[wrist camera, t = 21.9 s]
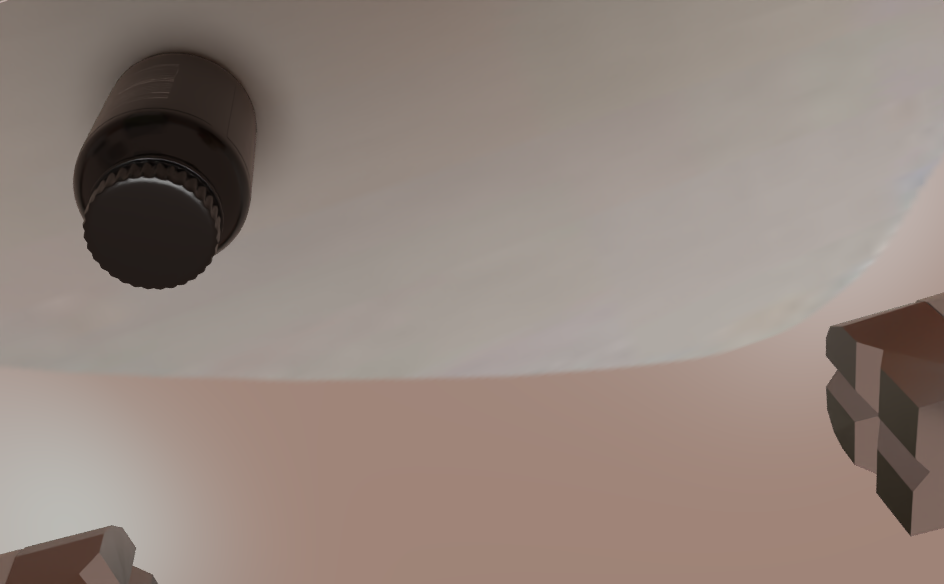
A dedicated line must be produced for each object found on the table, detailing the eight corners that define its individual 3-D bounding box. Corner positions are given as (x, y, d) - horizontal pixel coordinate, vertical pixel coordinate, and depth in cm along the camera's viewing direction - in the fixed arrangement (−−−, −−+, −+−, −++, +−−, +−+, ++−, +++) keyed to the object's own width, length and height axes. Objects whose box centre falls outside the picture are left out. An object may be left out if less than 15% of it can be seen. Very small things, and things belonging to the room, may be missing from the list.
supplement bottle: (102, 171, 44) (41, 297, 33) (117, 33, 40) (53, 125, 30) (247, 198, 45) (229, 325, 35) (271, 68, 42) (259, 167, 32)
